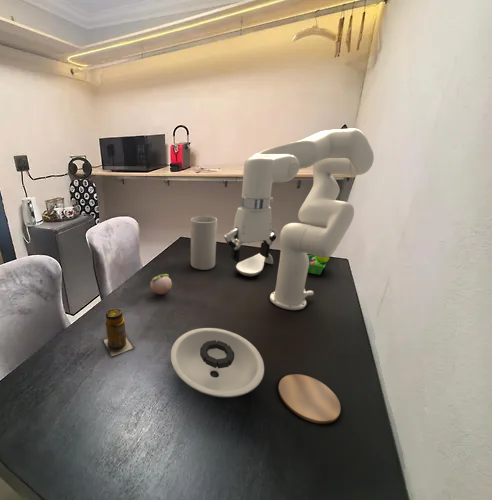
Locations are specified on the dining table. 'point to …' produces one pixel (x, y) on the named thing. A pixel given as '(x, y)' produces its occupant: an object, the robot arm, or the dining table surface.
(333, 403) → the coaster
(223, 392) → the white sink bowl
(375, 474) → the dining table surface
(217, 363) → the ring
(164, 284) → the decorative fruit
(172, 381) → the dining table surface
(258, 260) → the spoon rest
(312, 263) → the fruit basket
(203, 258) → the cylinder vase
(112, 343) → the condiment
